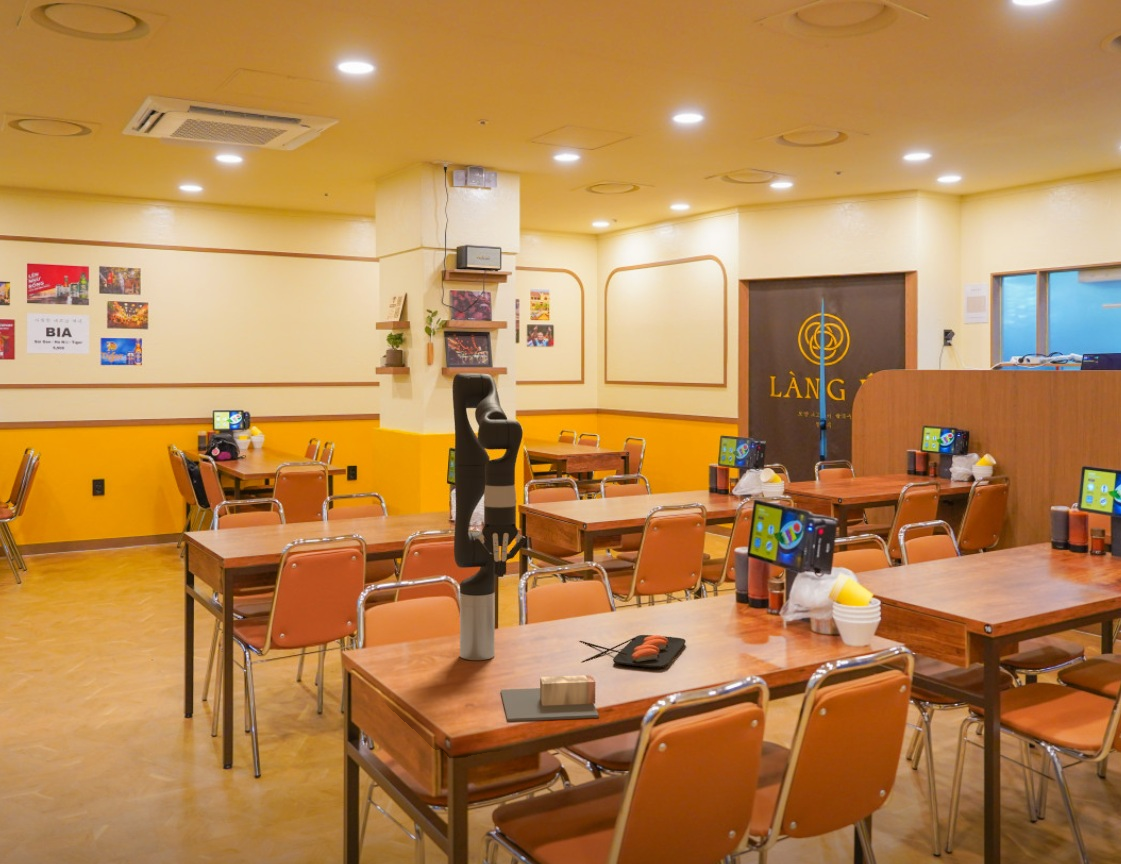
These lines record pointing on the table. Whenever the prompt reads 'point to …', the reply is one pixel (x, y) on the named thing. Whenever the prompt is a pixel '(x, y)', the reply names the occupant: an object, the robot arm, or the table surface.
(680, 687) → the table surface
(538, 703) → the slate mat
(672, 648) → the sushi plate
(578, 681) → the birch block
